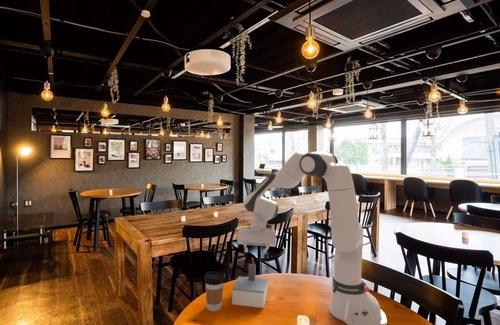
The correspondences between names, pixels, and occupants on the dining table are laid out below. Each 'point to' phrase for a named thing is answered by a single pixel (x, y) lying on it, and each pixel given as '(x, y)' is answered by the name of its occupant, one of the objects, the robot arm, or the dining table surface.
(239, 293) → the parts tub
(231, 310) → the dining table surface
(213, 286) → the coffee cup
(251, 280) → the lid
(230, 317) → the dining table surface
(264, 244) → the robot arm
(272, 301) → the dining table surface
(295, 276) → the dining table surface
